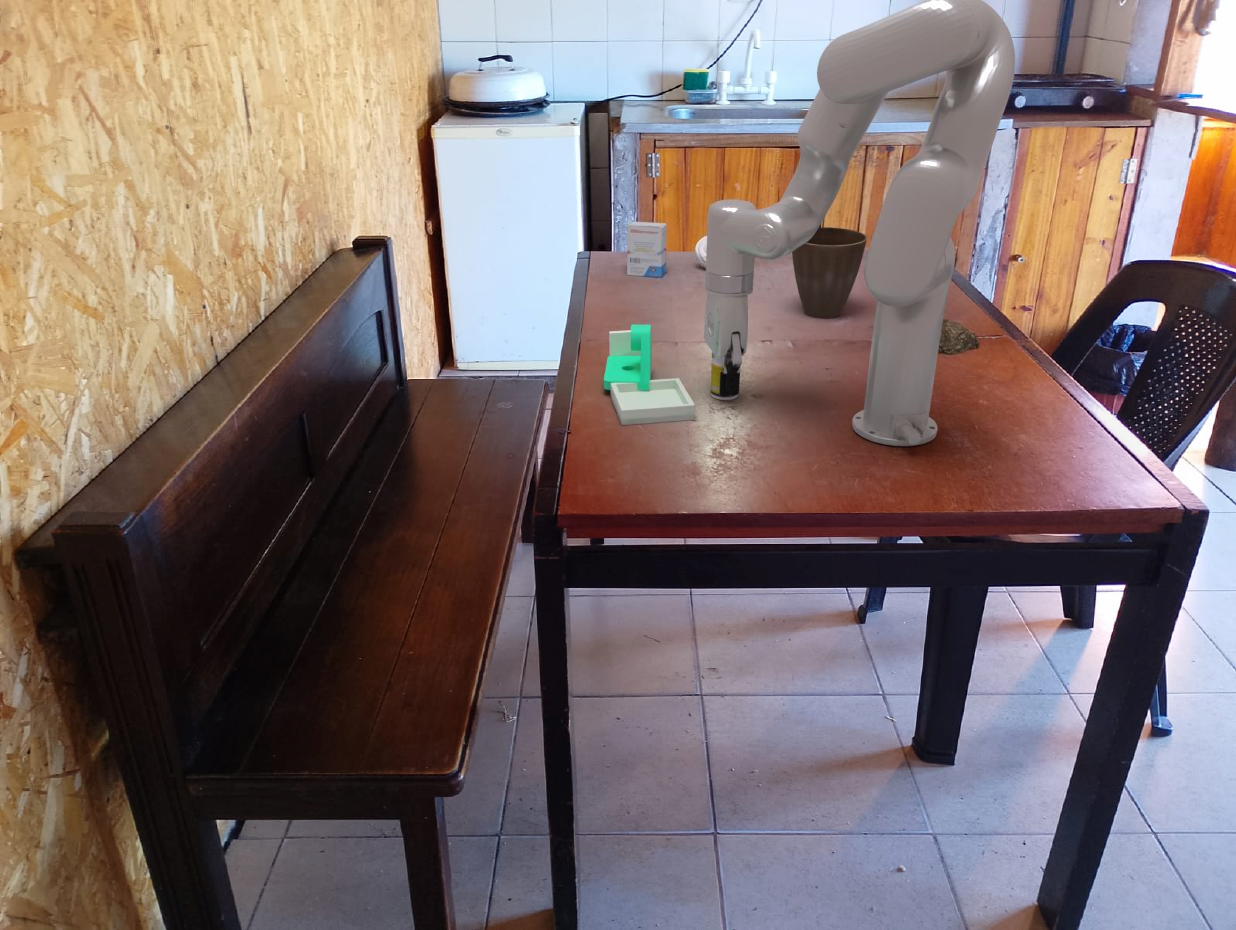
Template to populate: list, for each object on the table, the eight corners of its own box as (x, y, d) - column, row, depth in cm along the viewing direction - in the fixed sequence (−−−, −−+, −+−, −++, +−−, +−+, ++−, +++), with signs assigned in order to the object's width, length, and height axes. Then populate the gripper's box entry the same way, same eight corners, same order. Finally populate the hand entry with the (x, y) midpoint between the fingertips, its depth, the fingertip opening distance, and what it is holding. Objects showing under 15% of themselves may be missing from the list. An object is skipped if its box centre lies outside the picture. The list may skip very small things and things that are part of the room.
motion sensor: (692, 271, 229) (693, 239, 225) (695, 263, 235) (696, 231, 232) (726, 273, 228) (728, 240, 224) (728, 264, 234) (730, 232, 231)
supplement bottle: (730, 403, 158) (733, 354, 155) (705, 397, 161) (706, 349, 157) (743, 393, 162) (746, 345, 158) (718, 387, 164) (720, 340, 160)
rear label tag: (643, 368, 173) (643, 331, 169) (610, 371, 172) (610, 333, 169) (642, 366, 174) (642, 329, 170) (609, 368, 173) (609, 331, 170)
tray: (694, 419, 153) (694, 405, 151) (621, 425, 151) (621, 410, 150) (678, 392, 163) (679, 378, 162) (610, 396, 161) (610, 382, 160)
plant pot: (839, 329, 191) (847, 249, 183) (772, 315, 199) (777, 238, 191) (870, 310, 201) (879, 233, 194) (806, 298, 209) (812, 223, 202)
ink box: (667, 272, 229) (667, 222, 223) (661, 278, 224) (662, 226, 219) (632, 269, 231) (632, 219, 226) (626, 275, 227) (626, 224, 221)
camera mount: (608, 369, 172) (607, 313, 167) (651, 369, 172) (651, 314, 167) (603, 395, 161) (602, 337, 157) (649, 396, 161) (649, 337, 156)
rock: (932, 329, 191) (936, 305, 189) (986, 346, 182) (991, 321, 180) (889, 343, 184) (892, 318, 182) (944, 361, 175) (947, 335, 173)
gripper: (693, 268, 159) (691, 371, 168) (719, 298, 144) (715, 410, 153) (737, 266, 161) (733, 368, 169) (768, 295, 146) (761, 406, 154)
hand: (724, 387), depth 161 cm, fingers closed on supplement bottle, 4 cm apart
